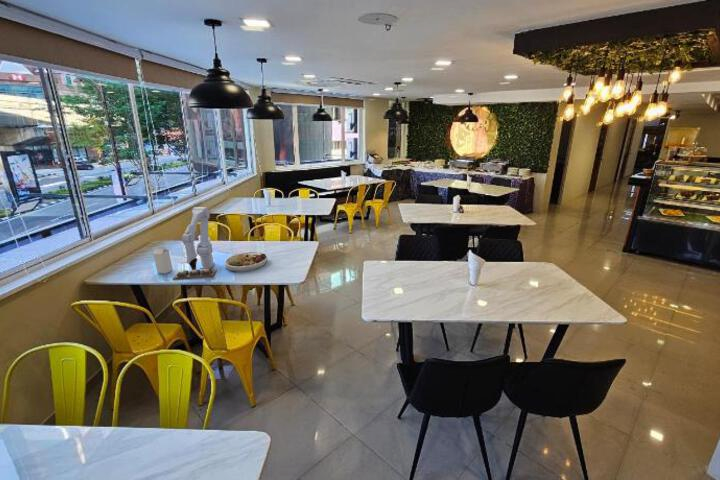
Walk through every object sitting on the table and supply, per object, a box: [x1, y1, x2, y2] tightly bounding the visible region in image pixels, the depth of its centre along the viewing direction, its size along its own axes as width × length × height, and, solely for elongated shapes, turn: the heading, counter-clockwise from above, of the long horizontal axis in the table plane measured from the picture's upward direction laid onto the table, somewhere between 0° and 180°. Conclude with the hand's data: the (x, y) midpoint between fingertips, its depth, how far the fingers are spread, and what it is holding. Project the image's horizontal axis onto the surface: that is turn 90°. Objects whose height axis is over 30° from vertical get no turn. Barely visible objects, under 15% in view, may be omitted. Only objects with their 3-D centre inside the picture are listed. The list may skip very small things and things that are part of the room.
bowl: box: [224, 251, 268, 273], centre depth 260 cm, size 30×30×8 cm
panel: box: [172, 268, 218, 281], centre depth 245 cm, size 11×26×3 cm, turn 96°
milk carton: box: [152, 246, 173, 274], centre depth 251 cm, size 7×7×19 cm
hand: (194, 269), depth 243 cm, fingers closed, pressing on cream button
